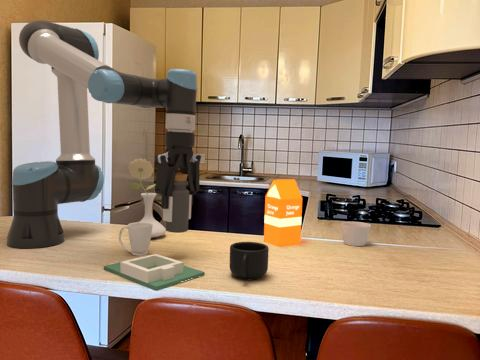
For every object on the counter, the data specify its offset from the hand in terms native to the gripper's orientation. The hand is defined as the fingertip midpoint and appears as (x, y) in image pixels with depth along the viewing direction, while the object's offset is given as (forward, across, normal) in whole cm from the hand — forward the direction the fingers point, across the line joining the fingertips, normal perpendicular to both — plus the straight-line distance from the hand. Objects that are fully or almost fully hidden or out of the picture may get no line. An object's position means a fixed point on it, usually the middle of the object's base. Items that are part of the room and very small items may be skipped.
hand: (177, 219), depth 111 cm
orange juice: (+10, +35, -10) cm, 38 cm away
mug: (+10, +1, -24) cm, 26 cm away
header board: (+10, -12, -6) cm, 17 cm away
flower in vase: (+11, +9, +25) cm, 29 cm away
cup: (+11, -5, +11) cm, 16 cm away
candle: (+10, +51, -27) cm, 59 cm away
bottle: (+3, 0, 0) cm, 3 cm away
